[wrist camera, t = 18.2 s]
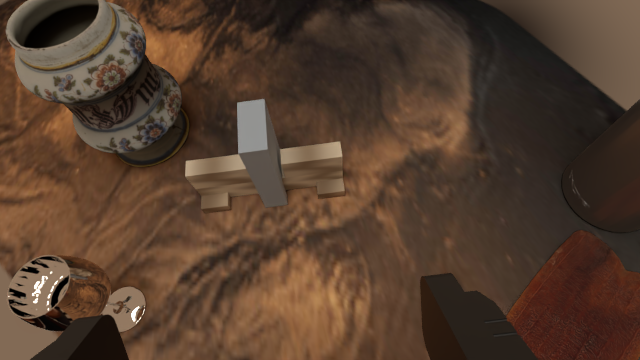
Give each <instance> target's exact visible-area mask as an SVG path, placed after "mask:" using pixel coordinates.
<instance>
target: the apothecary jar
mask: <svg viewBox="0 0 640 360" xmlns="http://www.w3.org/2000/svg"><path fill="white" fill-rule="evenodd" d="M6 35H7V38H8V40H9V42H10V44H11V45H12V46H13V48H14V49H15V50H16V52H15V66H16V71H17V74H18V76H19V78H20V80H21V82H22V83H23V84H24V86H25V87H26V88H27V89H28V90H29V91H31V92H32V93H33V94H35V95H36V96H38V97H40V98H42V99H45V100H48V101H51V102H56V103H63V104H64V105H65V106H66V107H67V108H68V109H69V110H70V111H71V112H72V113H73V123H74V126H75V129H76V131H77V133H78V134H79V136H80V137H81V138H82V139H83V140H84V141H85V142H86V143H87V144H88V145H90V146H92V147H93V148H95V149H98V150H100V151H103V152H108V153H116V155H117V156H118V157H119V158H120V159H121V160H122V161H123V162H125V163H126V164H129V165H131V166H136V167H146V166H152V165H156V164H159V163H161V162H163V161H165V160H167V159H169V158H170V157H172V156H173V155H174V154H175V153H176V152H177V151H178V150H179V149H180V148H181V147H182V145H183V144H184V142H185V140H186V138H187V136H188V133H189V119H188V117H187V115H186V113H185V111H184V110H183V109H182V108H181V104H182V97H181V91H180V88H179V86H178V84H177V82H176V80H175V79H174V77H173V76H172V75H171V74H170V73H169V72H167V71H166V70H165V69H163V68H161V67H159V66H157V65H154V64H151V62H150V61H149V59H148V58H147V56H146V55H145V50H146V38H145V33H144V31H143V28H142V26H141V24H140V23H139V21H138V20H137V19H136V18H135V17H134V16H133V15H132V14H131V13H130V12H129V11H127V10H126V9H124V8H122V7H120V6H118V5H115V4H113V3H109V2H106V1H105V0H28V1H27V2H25V3H24V4H22V5H21V6H20V7H19V8H18V9H17V10H16V11H15V12H14V13H13V14H12V16H11V17H10V19H9V21H8V23H7V26H6Z"/></svg>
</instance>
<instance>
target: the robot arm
mask: <svg viewBox="0 0 640 360" xmlns="http://www.w3.org/2000/svg"><path fill="white" fill-rule="evenodd" d="M562 189H563V192H564V196H565V198H566V200H567V202H568V203H569V205H570V206H571V207H572V209H573V210H574V211H575V212H576V213H577V214H578V215H579V216H580V217H581V218H583V219H584V220H585V221H587V222H589V223H590V224H592V225H594V226H596V227H598V228H601V229H603V230H607V231H611V232H621V233H625V232H632V231H635V230H638V229H640V100H638V101H637V102H636V103H635V104H634V105H633V106H632V107H631V108H630V109H629V110H628V111H626V112H625V113H624V114H623V115H622V116H621V117H620V118H619V119H618V120H617V121H616V122H615V123H613V124H612V125H611V126H610V127H609V128H608V129H607V130H606V131H605V132H604V133H603V134H602V135H600V136H599V137H598V138H597V139H596V140H595V141H594V142H593V143H592V144H591V145H590V146H588V147H587V148H586V149H585V150H584V151H583V152H582V153H581V154H580V155H579V156H578V157H577V158H575V159H574V160H573V161H572V162H571V163H570V164H569V165H568V166H567V167H566V169H565V171H564V173H563V177H562ZM420 289H421V311H422V329H423V336H424V341H425V345H426V348H427V351H428V354H429V357H430V359H431V360H538V358H537V357H536V356H535V355H534V353H533V352H532V351H531V349H530V348H529V347H528V345H527V344H526V343H525V341H524V340H523V339H522V337H521V336H520V335H518V334H517V331H516V330H515V328H514V327H513V326H512V324H511V323H510V322H509V321H507V318H506V316H505V315H504V314H503V312H502V311H501V310H500V309H499V307H498V306H497V305H496V303H495V302H493V301H492V300H490V299H489V298H487V297H486V296H484V295H483V294H481V293H480V292H478V291H470V292H464V291H463V289H462V288H461V286H460V285H459V283H458V282H457V280H456V279H455V277H454V276H453V274H451V273H447V274H439V275H430V276H422V277H421V280H420ZM30 360H129V358H128V356H127V353H126V350H125V347H124V344H123V341H122V338H121V336H120V333H119V330H118V327H117V324H116V322H115V319H114V318H113V317H112V316H111V315H108V314H107V315H99V316H90V317H82V318H77V319H75V320H74V321H73V322H72V323H71V324H70V325H69V326H68V327H67V328H66V330H65V331H64V332H63V333H62V334H61V335H60V336H59V337H58V339H57V340H56V341H54V342H53V343H52V344H50V345H49V346H47V347H46V348H45V349H43V350H42V351H41V352H39V353H38V354H37V355H35V356H34V357H33V358H31V359H30Z"/></svg>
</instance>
